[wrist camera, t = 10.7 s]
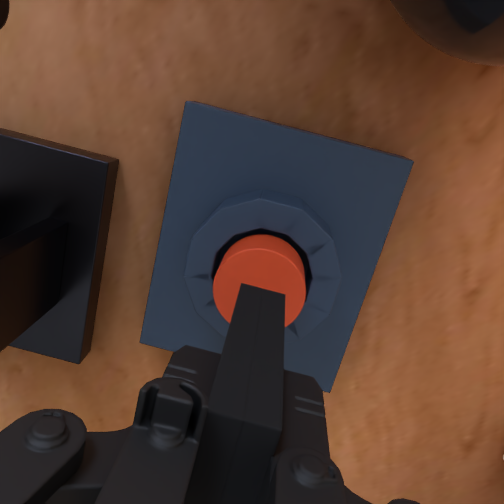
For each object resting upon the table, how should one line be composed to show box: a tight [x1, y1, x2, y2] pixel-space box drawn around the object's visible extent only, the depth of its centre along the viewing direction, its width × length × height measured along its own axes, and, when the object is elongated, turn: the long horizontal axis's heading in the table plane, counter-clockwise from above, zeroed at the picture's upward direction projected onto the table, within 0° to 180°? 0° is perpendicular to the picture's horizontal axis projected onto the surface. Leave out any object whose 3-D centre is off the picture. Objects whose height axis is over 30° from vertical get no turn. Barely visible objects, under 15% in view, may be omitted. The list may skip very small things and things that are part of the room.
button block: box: [140, 101, 414, 393], centre depth 21 cm, size 12×10×4 cm
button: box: [213, 234, 306, 327], centre depth 18 cm, size 4×4×2 cm
